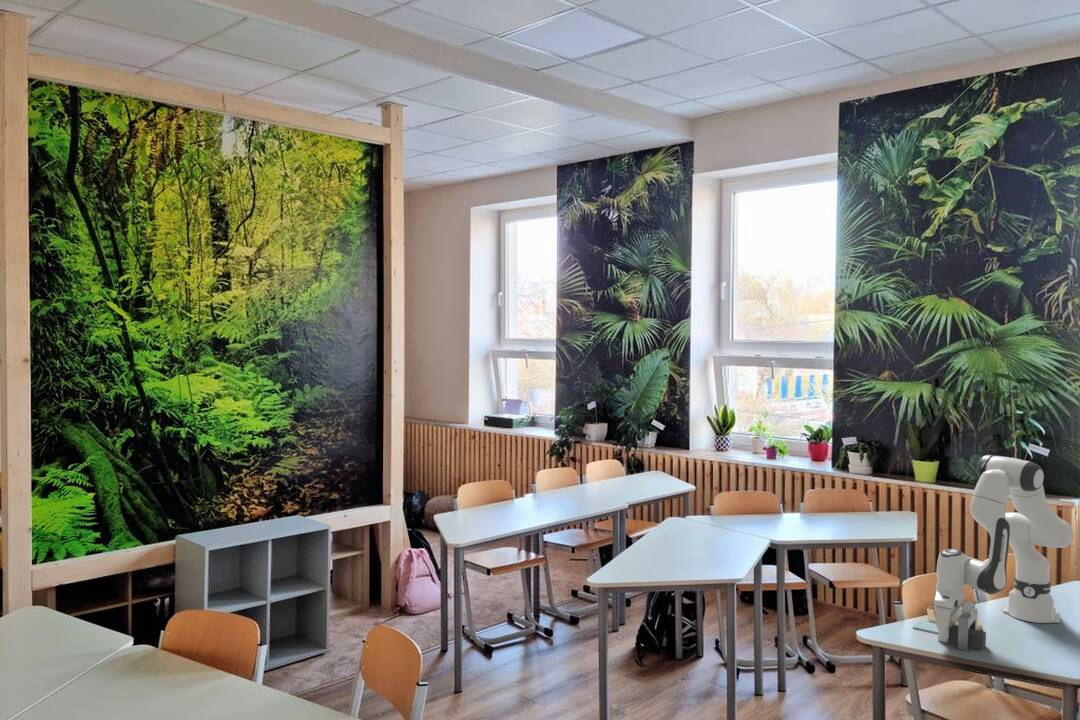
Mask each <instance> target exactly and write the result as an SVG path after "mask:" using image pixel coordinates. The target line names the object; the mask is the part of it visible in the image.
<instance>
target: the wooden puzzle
mask: <svg viewBox="0 0 1080 720" xmlns="http://www.w3.org/2000/svg"><path fill="white" fill-rule="evenodd" d="M935 610H936V605H929V606H928V607H927V608H926V613H927V616H928V620H929V621H928V622H929V623H934V624H936V613H935ZM961 614H962V609H961ZM958 623H959V619H958V620H957V621H956V623H955V625H956V626H958ZM982 628H983V627H982V623H981V621H980V620H979V617H978V616H977V630H979V631H982Z"/></svg>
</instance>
